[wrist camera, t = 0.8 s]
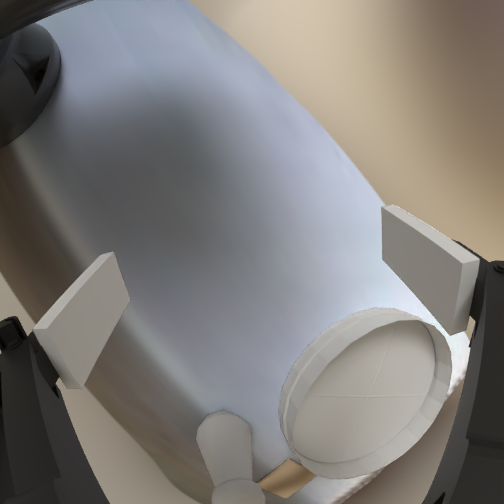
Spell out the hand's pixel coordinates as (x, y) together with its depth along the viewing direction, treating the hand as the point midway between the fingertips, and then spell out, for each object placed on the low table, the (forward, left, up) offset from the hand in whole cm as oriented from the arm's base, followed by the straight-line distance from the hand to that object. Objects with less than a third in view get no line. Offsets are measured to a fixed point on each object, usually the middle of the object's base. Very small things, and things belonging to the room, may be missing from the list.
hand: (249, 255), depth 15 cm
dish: (+25, +3, -15) cm, 30 cm away
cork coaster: (+30, -12, -15) cm, 36 cm away
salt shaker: (+16, -12, -15) cm, 25 cm away
